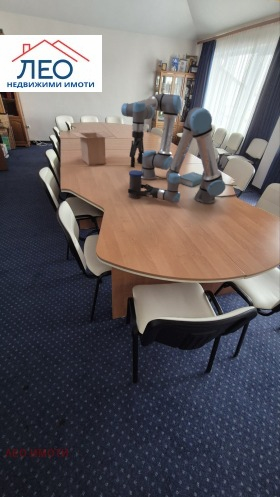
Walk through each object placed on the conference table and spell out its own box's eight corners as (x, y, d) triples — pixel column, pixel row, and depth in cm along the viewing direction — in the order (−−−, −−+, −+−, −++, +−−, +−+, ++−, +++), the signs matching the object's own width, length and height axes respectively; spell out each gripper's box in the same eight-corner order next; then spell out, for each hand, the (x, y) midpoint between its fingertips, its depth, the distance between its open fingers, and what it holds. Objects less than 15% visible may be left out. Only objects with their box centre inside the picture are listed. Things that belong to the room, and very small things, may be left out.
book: (191, 177, 214) (192, 171, 211) (206, 182, 205) (207, 176, 202) (177, 181, 200) (178, 176, 197) (192, 187, 191) (193, 181, 188)
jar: (129, 198, 165) (129, 174, 155) (129, 193, 172) (129, 170, 162) (140, 198, 166) (142, 175, 155) (140, 194, 173) (141, 171, 163)
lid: (129, 176, 155) (129, 174, 154) (129, 172, 163) (129, 169, 162) (143, 177, 156) (143, 174, 155) (142, 172, 164) (142, 170, 163)
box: (116, 165, 229) (116, 136, 213) (83, 168, 214) (80, 137, 198) (102, 154, 259) (101, 128, 243) (71, 156, 244) (68, 129, 228)
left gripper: (139, 127, 153) (138, 160, 166) (124, 132, 134) (123, 168, 147) (150, 129, 151) (147, 161, 163) (135, 134, 132) (134, 170, 145)
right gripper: (152, 204, 152) (124, 198, 159) (163, 192, 171) (138, 187, 177) (153, 194, 148) (124, 188, 154) (164, 183, 167) (139, 178, 173)
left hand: (136, 165), depth 155 cm, fingers open, 12 cm apart
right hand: (132, 187), depth 166 cm, fingers open, 13 cm apart
